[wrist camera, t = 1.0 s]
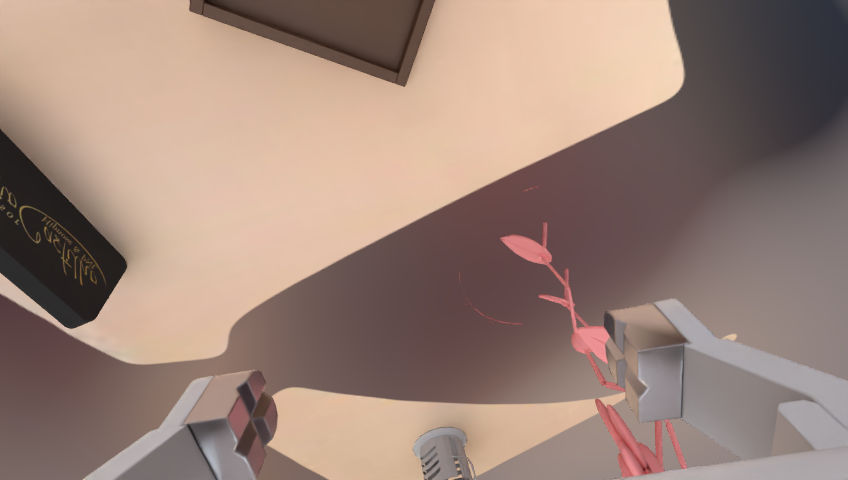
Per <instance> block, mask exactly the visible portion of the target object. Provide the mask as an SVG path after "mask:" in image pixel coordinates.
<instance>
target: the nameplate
mask: <svg viewBox="0 0 848 480" xmlns="http://www.w3.org/2000/svg"><path fill="white" fill-rule="evenodd" d="M126 268H127V264H126V261H125V259H124V258H123V257H122V256H121V255H120V254H119V253H118V251H117V250H116V249H115V248H114V247H113V246H112V245H111V244H110V243H109V242H108V241H107V240H106V239H105V238H104V237H103V236H102V235H101V234H100V233H99V232H98V231H97V230H96V229H95V228H94V227H93V225H92V224H91V223H90V222H89V221H88V220H87V219H86V218H85V217H84V216H83V215H82V214H81V213H80V212H79V211H78V210H77V209H76V208H75V207H74V206H73V205H72V204H71V203H70V202H69V200H68V199H67V198H66V197H65V196H64V195H63V194H62V193H61V192H60V191H59V190H58V189H57V188H56V187H55V186H54V185H53V184H52V183H51V182H50V181H49V180H48V179H47V178H46V177H45V176H44V174H43V173H42V172H41V171H40V170H39V169H38V168H37V167H36V166H35V165H34V164H33V163H32V162H31V161H30V160H29V159H28V158H27V157H26V156H25V155H24V154H23V153H22V152H21V151H20V150H19V148H18V147H17V146H16V145H15V144H14V143H13V142H12V141H11V140H10V139H9V138H8V137H7V136H6V135H5V134H4V133H3V132H2V131H1V130H0V273H1V274H3V275H4V276H5V277H6V278H7V279H9V280H10V281H11V282H12V283H13V284H15V285H16V286H17V287H18V288H19V289H21V290H22V291H23V292H24V293H25V294H27V295H28V296H29V297H30V298H31V299H33V300H34V301H35V302H36V303H37V304H39V305H40V306H41V307H42V308H43V309H45V310H46V311H47V312H48V313H49V314H51V315H52V316H53V317H54V318H55V319H57V320H58V321H59V322H60V323H61V324H62V325H64V326H65V327H67V328H71V329H73V328H76V327H78V326H81V325H83V324H86V323H88V322H90V321H93V320H94V319H95V318H96V317H97V316H98V314H99V312H100V311H101V309H102V307H103V306H104V304H105V303H106V301H107V299H108V298H109V296H110V295H111V293H112V291H113V290H114V288H115V287H116V285H117V283H118V282H119V280H120V279H121V277H122V275H123V274H124V272H125V271H126Z"/></svg>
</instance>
